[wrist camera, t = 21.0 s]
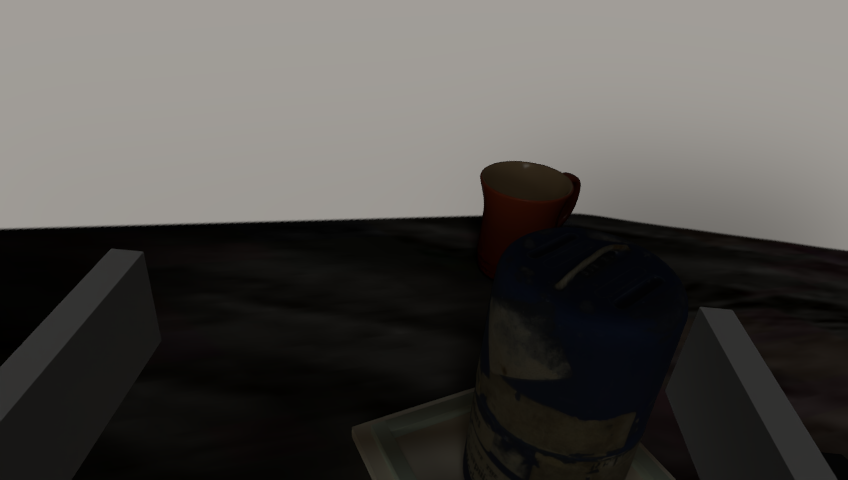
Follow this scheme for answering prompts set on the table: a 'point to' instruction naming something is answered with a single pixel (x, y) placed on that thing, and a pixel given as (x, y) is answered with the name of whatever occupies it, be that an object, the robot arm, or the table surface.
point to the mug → (521, 205)
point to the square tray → (443, 443)
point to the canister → (571, 357)
